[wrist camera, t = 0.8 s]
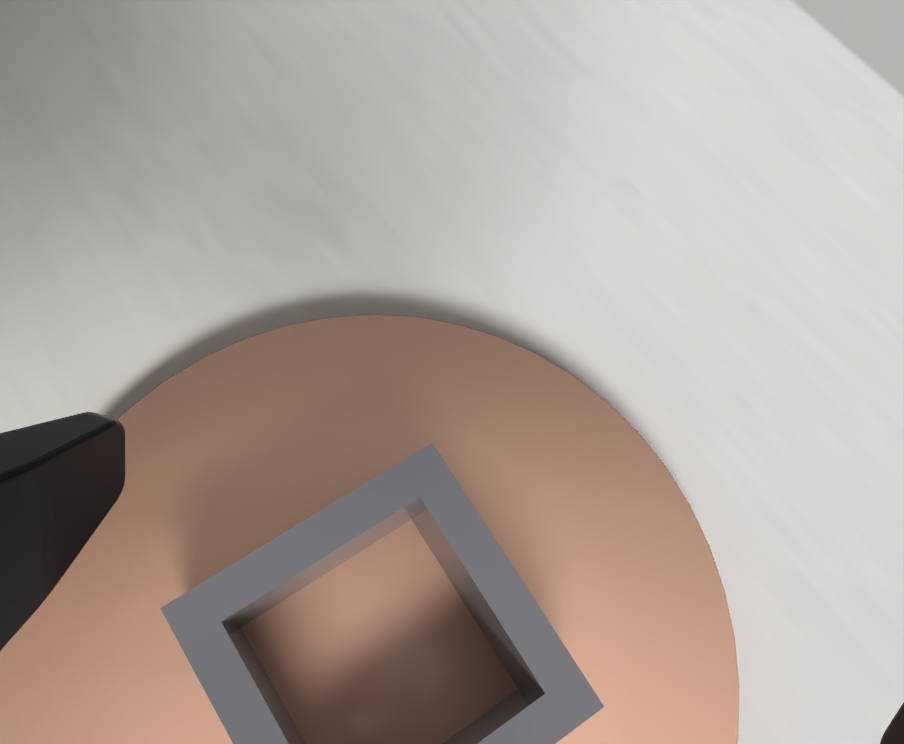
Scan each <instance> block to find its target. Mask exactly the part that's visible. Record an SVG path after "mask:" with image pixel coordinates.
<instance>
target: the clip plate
mask: <svg viewBox="0 0 904 744" xmlns="http://www.w3.org/2000/svg"><path fill="white" fill-rule="evenodd" d="M118 421H119V422H120V423H122V425H123V427H124V429H125V483H124V487H123V490H122V492H121V494H120V496H119V498H118V500H117V501H116V503H115V504H114V505H113V507H112V508H111V510H110V511H109V512H108V514H107V515H106V517H105V518H104V519H103V521H102V522H101V524H100V525H99V526H98V528H97V529H96V531H95V532H94V533H93V535H92V536H91V538H90V539H89V540H88V542H87V543H86V544H85V546H84V547H83V549H82V550H81V551H80V553H79V554H78V556H77V557H76V558H75V560H74V561H73V563H72V564H71V565H70V567H69V568H68V570H67V571H66V572H65V574H64V575H63V577H62V578H61V579H60V581H59V582H58V584H57V585H56V586H55V588H54V589H53V590H52V591H51V593H50V594H49V595H48V597H47V598H46V599H45V601H44V602H43V603H42V604H41V605H40V606H39V608H38V609H37V610H36V611H35V612H34V613H33V615H32V616H31V617H30V618H29V619H28V620H27V622H26V623H25V624H24V625H23V626H22V627H21V628H20V629H19V631H18V632H17V633H16V634H15V635H14V636H13V637H12V638H11V640H10V641H9V642H8V643H7V644H6V645H5V646H4V647H3V649H2V650H1V651H0V744H737V742H738V724H739V678H738V667H737V657H736V646H735V637H734V632H733V627H732V623H731V618H730V614H729V609H728V604H727V600H726V595H725V590H724V587H723V584H722V582H721V579H720V576H719V573H718V570H717V567H716V564H715V561H714V558H713V555H712V552H711V549H710V546H709V544H708V542H707V540H706V538H705V536H704V534H703V532H702V529H701V527H700V525H699V523H698V521H697V519H696V517H695V515H694V513H693V511H692V509H691V506H690V504H689V503H688V501H687V500H686V498H685V496H684V495H683V493H682V492H681V490H680V488H679V487H678V485H677V484H676V482H675V481H674V479H673V477H672V476H671V474H670V473H669V471H668V469H667V468H666V466H665V465H664V464H663V462H662V461H661V460H660V459H659V458H658V456H657V455H656V454H655V453H654V451H653V450H652V449H651V448H650V446H649V445H648V444H647V443H646V442H645V440H644V439H643V438H642V437H641V435H640V434H639V433H638V432H637V431H636V430H635V429H634V428H633V427H632V426H631V425H630V424H629V423H628V422H627V421H626V420H625V419H624V418H623V417H622V416H621V415H620V414H619V413H618V412H617V411H616V410H615V409H614V408H613V407H612V406H611V405H610V404H609V403H608V402H607V401H605V400H604V399H603V398H602V397H600V396H599V395H598V394H596V393H595V392H594V391H592V390H591V389H590V388H588V387H587V386H586V385H584V384H583V383H582V382H581V381H579V380H578V379H577V378H575V377H574V376H573V375H571V374H570V373H568V372H566V371H565V370H563V369H561V368H559V367H558V366H556V365H554V364H553V363H551V362H549V361H548V360H546V359H544V358H542V357H541V356H539V355H537V354H536V353H534V352H531V351H529V350H527V349H525V348H522V347H520V346H518V345H515V344H513V343H511V342H508V341H506V340H504V339H502V338H499V337H497V336H494V335H491V334H488V333H484V332H481V331H478V330H474V329H471V328H468V327H464V326H461V325H458V324H453V323H447V322H442V321H436V320H430V319H424V318H418V317H410V316H390V315H358V316H343V317H329V318H323V319H318V320H313V321H308V322H303V323H298V324H292V325H287V326H283V327H280V328H277V329H274V330H271V331H268V332H265V333H262V334H258V335H255V336H252V337H249V338H246V339H243V340H241V341H239V342H236V343H234V344H232V345H230V346H228V347H225V348H223V349H221V350H219V351H217V352H215V353H212V354H210V355H208V356H206V357H204V358H202V359H200V360H198V361H197V362H195V363H193V364H192V365H190V366H189V367H187V368H185V369H184V370H182V371H180V372H179V373H177V374H175V375H174V376H172V377H171V378H169V379H167V380H166V381H164V382H162V383H161V384H160V385H159V386H157V387H156V388H155V389H154V390H152V391H151V392H150V393H148V394H147V395H146V396H145V397H143V398H142V399H141V400H140V401H138V402H137V403H136V404H135V405H133V406H132V407H131V408H129V409H128V410H127V411H126V412H125V413H124V414H123V415H122V416H121V417H120V418H119V419H118Z"/></svg>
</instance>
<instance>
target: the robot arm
mask: <svg viewBox="0 0 904 744" xmlns="http://www.w3.org/2000/svg"><path fill="white" fill-rule="evenodd" d="M124 483H125V429H124V427H123V425H122V423H120V422H119V421H118V420H115V419H112V418H109V417H106V416H103V415H100V414H97V413H92V412H86V413H81V414H77V415H73V416H69V417H65V418H61V419H57V420H53V421H49V422H45V423H40V424H36V425H32V426H28V427H24V428H20V429H16V430H12V431H8V432H4V433H0V651H1V650H2V649H3V647H4V646H5V645H6V644H7V643H8V642H9V641H10V640H11V638H12V637H13V636H14V635H15V634H16V633H17V632H18V631H19V629H20V628H21V627H22V626H23V625H24V624H25V623H26V622H27V620H28V619H29V618H30V617H31V616H32V615H33V613H34V612H35V611H36V610H37V609H38V608H39V606H40V605H41V604H42V603H43V602H44V601H45V599H46V598H47V597H48V595H49V594H50V593H51V591H52V590H53V589H54V588H55V586H56V585H57V584H58V582H59V581H60V579H61V578H62V577H63V575H64V574H65V572H66V571H67V570H68V568H69V567H70V565H71V564H72V563H73V561H74V560H75V558H76V557H77V556H78V554H79V553H80V551H81V550H82V549H83V547H84V546H85V544H86V543H87V542H88V540H89V539H90V538H91V536H92V535H93V533H94V532H95V531H96V529H97V528H98V526H99V525H100V524H101V522H102V521H103V519H104V518H105V517H106V515H107V514H108V512H109V511H110V510H111V508H112V507H113V505H114V504H115V503H116V501H117V500H118V498H119V496H120V494H121V492H122V490H123V487H124ZM880 744H904V703H903V704H902V706H901V707H900V709H899V711H898V712H897V714H896V715H895V717H894V718H893V720H892V721H891V723H890V724H889V726H888V728H887V729H886V731H885V733H884V734H883V737H882V739H881V742H880Z"/></svg>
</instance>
